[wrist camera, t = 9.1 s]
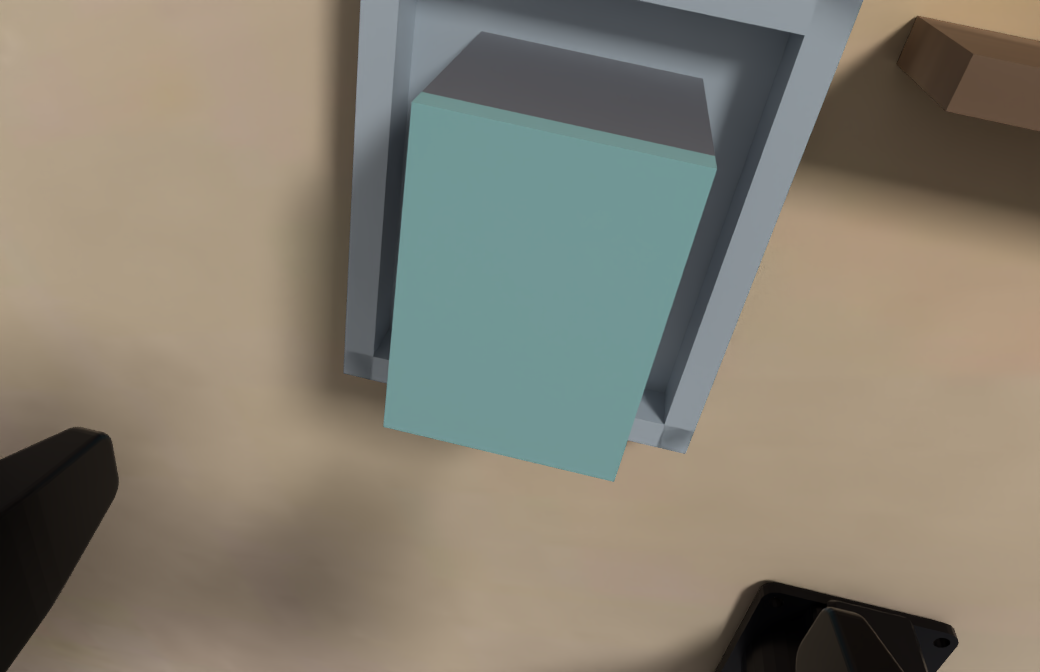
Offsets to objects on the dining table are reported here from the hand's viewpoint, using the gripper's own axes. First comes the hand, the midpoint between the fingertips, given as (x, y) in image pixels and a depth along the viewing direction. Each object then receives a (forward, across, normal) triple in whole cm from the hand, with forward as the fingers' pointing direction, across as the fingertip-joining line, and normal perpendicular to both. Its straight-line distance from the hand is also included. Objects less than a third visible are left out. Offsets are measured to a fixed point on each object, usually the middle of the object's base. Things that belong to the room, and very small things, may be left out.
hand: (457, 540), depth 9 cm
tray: (+12, 0, 0) cm, 12 cm away
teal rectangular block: (+11, 0, 0) cm, 11 cm away
